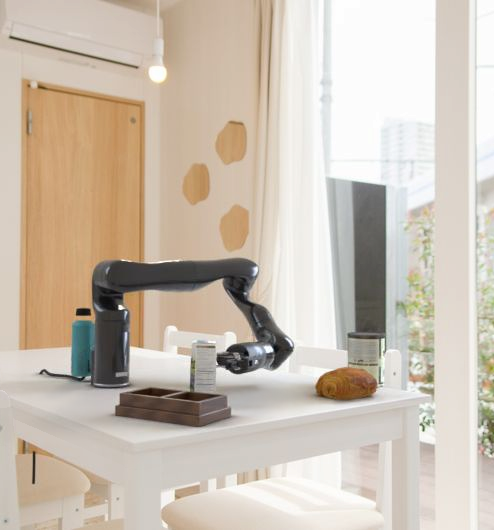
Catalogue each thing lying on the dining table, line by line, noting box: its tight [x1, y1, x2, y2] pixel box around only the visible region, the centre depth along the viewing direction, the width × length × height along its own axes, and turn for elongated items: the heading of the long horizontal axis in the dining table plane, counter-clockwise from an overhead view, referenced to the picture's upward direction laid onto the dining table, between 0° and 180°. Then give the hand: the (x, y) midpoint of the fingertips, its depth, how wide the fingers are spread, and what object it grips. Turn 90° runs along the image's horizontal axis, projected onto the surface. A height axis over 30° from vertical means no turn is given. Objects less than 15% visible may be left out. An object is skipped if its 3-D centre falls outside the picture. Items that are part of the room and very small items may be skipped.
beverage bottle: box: [70, 307, 95, 378], centre depth 192 cm, size 6×7×20 cm
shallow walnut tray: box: [114, 386, 232, 428], centre depth 145 cm, size 21×12×4 cm, turn 61°
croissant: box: [315, 366, 378, 401], centre depth 173 cm, size 14×16×8 cm
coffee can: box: [346, 331, 386, 388], centre depth 192 cm, size 10×10×14 cm
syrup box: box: [189, 339, 218, 394], centre depth 157 cm, size 6×6×14 cm
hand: (210, 364), depth 160 cm, fingers open, 8 cm apart
